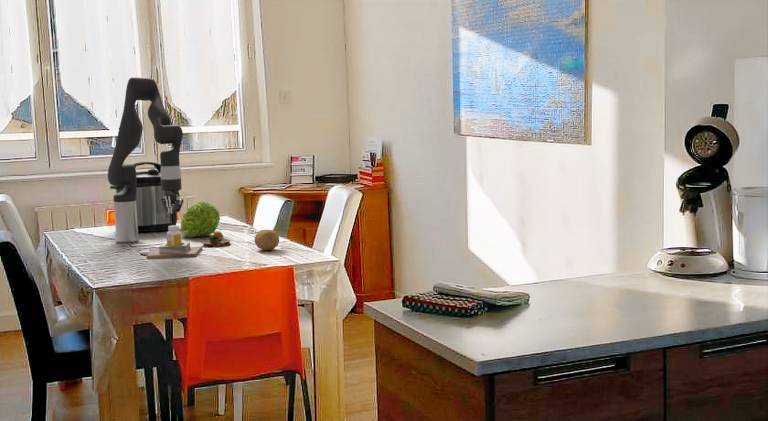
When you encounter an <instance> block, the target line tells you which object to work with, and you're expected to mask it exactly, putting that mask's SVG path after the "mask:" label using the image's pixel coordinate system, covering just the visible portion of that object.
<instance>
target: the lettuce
mask: <svg viewBox="0 0 768 421" xmlns="http://www.w3.org/2000/svg"><path fill="white" fill-rule="evenodd" d="M220 221H221V218H220V212H219V210H218V209H217V207H216V206H215V205H213V204H211V203H208V202H205V201H199V202H196V203H195V204H193V205H191V206H190V207H188V208H187V209H185V210H184V212H183V214H182V215H181V221H180V230H181V231H180V232H181V233H182V234H183V235H184V236H187V237H189V238H196V237H205V236H210V235H213V234H214V232H215V231H216V230H217V229H218V226H219V223H220Z"/></svg>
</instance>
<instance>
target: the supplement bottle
mask: <svg viewBox="0 0 768 421" xmlns="http://www.w3.org/2000/svg"><path fill="white" fill-rule="evenodd" d="M179 229H180V226H179V225H177V224H176V225H173V226H168V231H167V232H166V243H167V246H180V245H182V244H181V242H182V231H180V230H179Z"/></svg>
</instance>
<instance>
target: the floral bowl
mask: <svg viewBox="0 0 768 421" xmlns="http://www.w3.org/2000/svg"><path fill="white" fill-rule="evenodd" d="M201 244H202V245H203V246H205V248H211V246H212V247H213V248H219V247H222V246H223V247H227V246H231V241H230V240H229V239H225V238H224V234H223V233H222V232H221V228H220V230H217V231H216V230H215V232H214V233H213V234H211V236H210V237H209V238H208V240H203V241H201Z"/></svg>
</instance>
